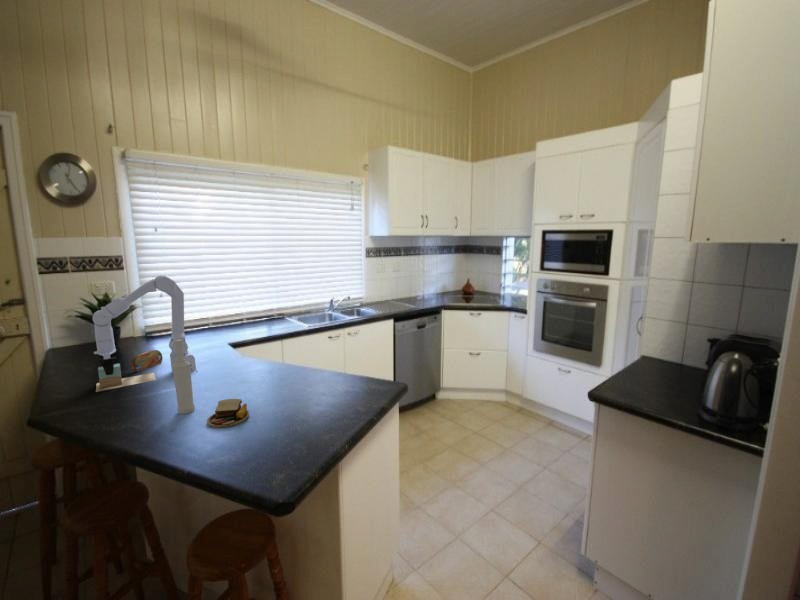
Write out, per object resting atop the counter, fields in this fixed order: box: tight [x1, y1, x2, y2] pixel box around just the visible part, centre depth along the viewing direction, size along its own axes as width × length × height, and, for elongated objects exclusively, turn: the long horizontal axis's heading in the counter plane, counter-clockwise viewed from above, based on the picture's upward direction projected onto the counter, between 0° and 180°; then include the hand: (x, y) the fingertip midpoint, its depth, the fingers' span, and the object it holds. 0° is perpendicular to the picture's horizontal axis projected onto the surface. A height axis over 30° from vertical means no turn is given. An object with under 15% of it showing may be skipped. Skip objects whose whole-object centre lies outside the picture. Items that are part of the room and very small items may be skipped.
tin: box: [130, 349, 163, 373], centre depth 175 cm, size 15×3×8 cm, turn 168°
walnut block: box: [98, 375, 123, 389], centre depth 154 cm, size 7×7×4 cm
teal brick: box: [97, 363, 122, 381], centre depth 154 cm, size 5×7×4 cm
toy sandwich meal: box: [206, 398, 250, 429], centre depth 123 cm, size 12×14×5 cm
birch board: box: [95, 372, 157, 393], centre depth 157 cm, size 20×12×1 cm, turn 127°
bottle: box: [172, 340, 196, 415], centre depth 128 cm, size 5×5×25 cm
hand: (109, 372), depth 154 cm, fingers open, 7 cm apart
